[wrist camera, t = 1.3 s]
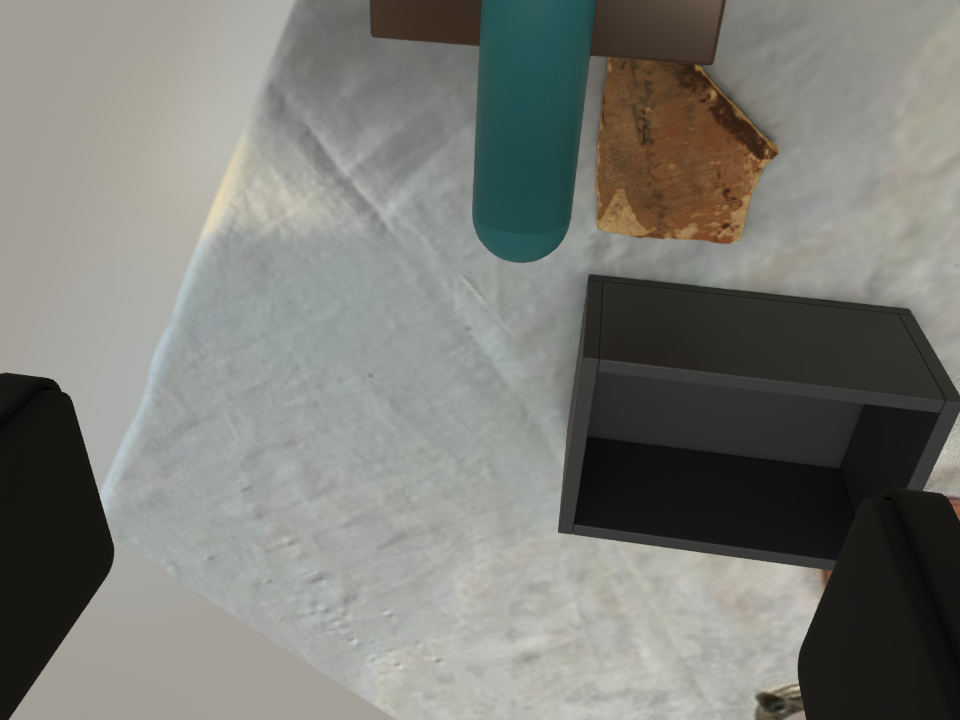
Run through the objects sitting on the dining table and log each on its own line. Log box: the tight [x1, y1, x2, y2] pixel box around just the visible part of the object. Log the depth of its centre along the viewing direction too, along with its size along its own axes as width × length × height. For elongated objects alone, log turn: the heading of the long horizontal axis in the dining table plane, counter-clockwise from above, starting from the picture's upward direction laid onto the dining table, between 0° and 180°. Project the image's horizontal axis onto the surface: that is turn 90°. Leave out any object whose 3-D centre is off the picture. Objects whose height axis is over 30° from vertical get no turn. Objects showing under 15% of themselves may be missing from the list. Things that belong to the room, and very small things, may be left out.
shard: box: [596, 57, 778, 244], centre depth 35 cm, size 11×8×2 cm
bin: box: [558, 275, 960, 571], centre depth 40 cm, size 15×10×8 cm
